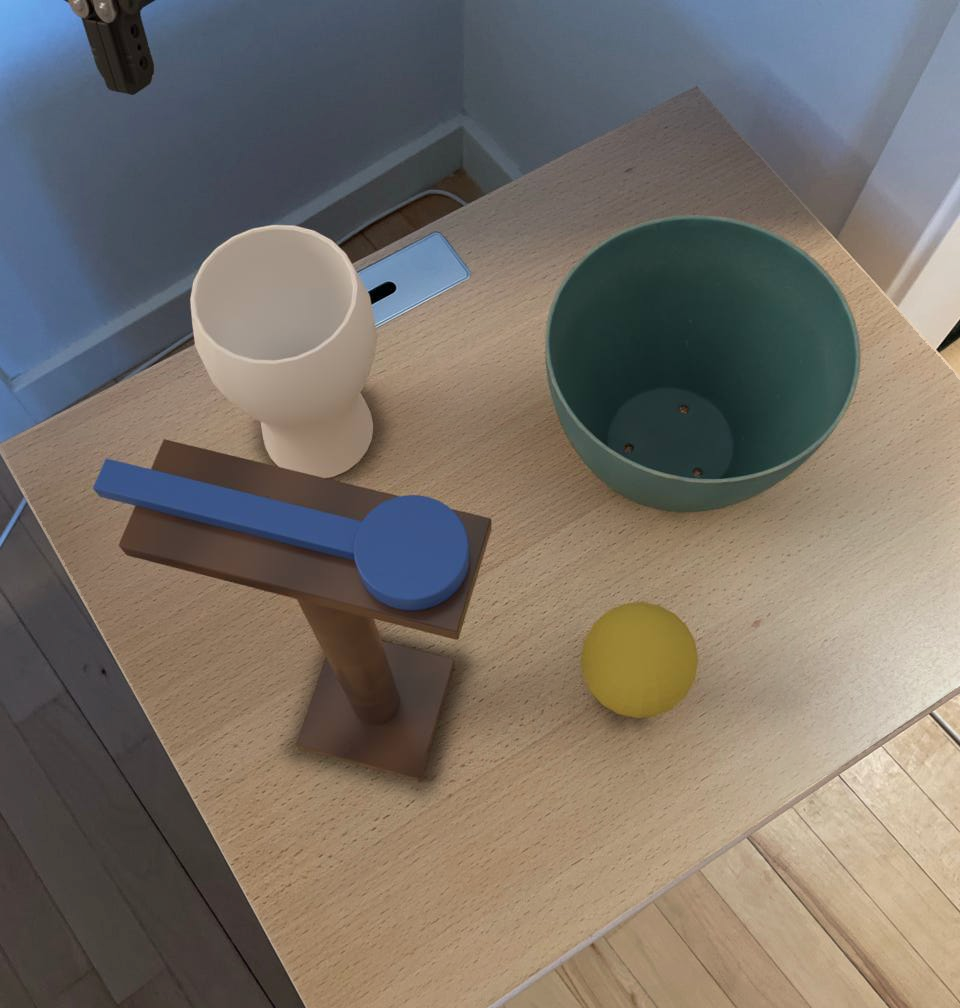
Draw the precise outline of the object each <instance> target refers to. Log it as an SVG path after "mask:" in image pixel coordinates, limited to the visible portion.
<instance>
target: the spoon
mask: <svg viewBox="0 0 960 1008" xmlns="http://www.w3.org/2000/svg"><path fill="white" fill-rule="evenodd" d="M92 489H93V490H94V492H95V493H96V494H97V495H98V497H100V498H103V499H107V500H111V501H115V502H119V503H122V504H128V505H131V506H134V507H135V506H138V507H142V508H146V509H150V510H154V511H158V512H162V513H166V514H170V515H174V516H178V517H182V518H186V519H190V520H194V521H198V522H202V523H206V524H210V525H214V526H218V527H222V528H226V529H230V530H234V531H238V532H242V533H246V534H250V535H254V536H258V537H262V538H266V539H270V540H274V541H278V542H282V543H286V544H290V545H294V546H298V547H302V548H306V549H310V550H314V551H318V552H322V553H326V554H330V555H334V556H338V557H342V558H346V559H350V560H354V561H355V563H356V566H357V569H358V572H359V575H360V578H361V580H362V582H363V584H364V585H365V587H366V588H367V590H368V591H369V592H370V593H371V594H372V595H373V596H374V597H375V598H376V599H377V600H379V601H381V602H382V603H384V604H386V605H388V606H390V607H393V608H396V609H401V610H422V609H427V608H430V607H434V606H436V605H438V604H440V603H442V602H443V601H445V600H447V599H448V598H449V597H450V596H452V595H453V594H454V593H455V592H456V591H457V590H458V588H459V587H460V586H461V584H462V582H463V581H464V579H465V576H466V574H467V571H468V567H469V558H470V557H469V541H468V536H467V532H466V529H465V527H464V525H463V523H462V521H461V519H460V518H459V517H458V515H457V514H456V513H455V512H454V511H453V510H452V509H453V508H452V507H451V508H450V507H449V505H447V504H445V503H443V502H442V501H440V500H437V499H436V498H432V497H429V496H425V495H419V494H407V495H399V496H400V497H396V498H392V499H390V500H387V501H385V502H383V503H382V504H380V505H378V506H377V507H376V508H374V509H373V510H372V511H371V512H370V513H369V514H368V515H367V516H366V517H365V519H364V520H363V521H359V520H354V519H350V518H346V517H342V516H338V515H334V514H330V513H326V512H322V511H318V510H314V509H310V508H306V507H302V506H298V505H294V504H289V503H285V502H281V501H277V500H273V499H269V498H265V497H261V496H257V495H253V494H249V493H245V492H241V491H237V490H233V489H229V488H224V487H220V486H216V485H212V484H208V483H204V482H200V481H196V480H192V479H188V478H184V477H180V476H176V475H172V474H168V473H164V472H159V471H155V470H151V468H148V467H143V466H139V465H135V464H130V463H127V462H124V461H123V462H122V461H119V460H115V459H111V458H105V460H104V462H103V464H102V466H101V469H100V471H99V473H98V474H97V478H96V480H95V482H94V484H93V487H92Z"/></svg>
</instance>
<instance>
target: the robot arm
mask: <svg viewBox="0 0 960 1008" xmlns="http://www.w3.org/2000/svg"><path fill="white" fill-rule="evenodd" d="M63 1H64V2H65V3H68V5H69V7H70V8H71V10H72V12H73V13H74V14H75V15H76V16H77V17H79V18H80V19H81V23H82V24H83V28H84V31H85V35H86V37H87V40H88V44H89V47H90V50H91V53H92V56H93V59H94V64H95V66H96V68H97V70H98V72H99V74H100V75H101V77H102V78H103V80H104V83H105V86H106V88H107V89H108V90H109V91H112V92H117V93H121V94H126V95H131V96H134V95H136V94H137V93H139V92H140V91H142V90H143V89H144V88H146V87H148V86H149V85H151V83H152V80H153V75H154V74H155V64H154V63H155V62H154V60H153V56H152V54H151V49H150V46H149V41H148V38H147V34H146V31H145V27H144V23H143V20H142V19H143V18H142V15H141V11H142V10H143V8H145V7H147V6H149V5H151V4H152V3H154V2H155V1H156V0H63Z"/></svg>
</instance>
